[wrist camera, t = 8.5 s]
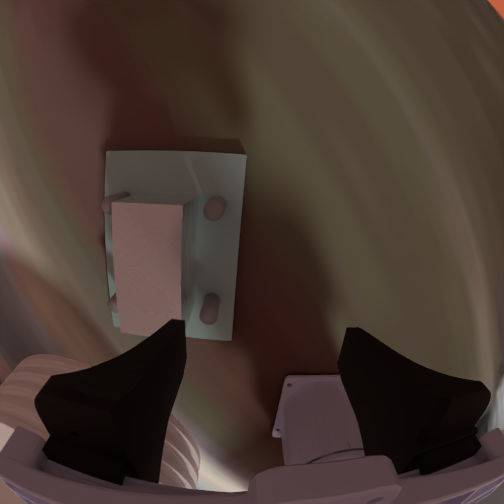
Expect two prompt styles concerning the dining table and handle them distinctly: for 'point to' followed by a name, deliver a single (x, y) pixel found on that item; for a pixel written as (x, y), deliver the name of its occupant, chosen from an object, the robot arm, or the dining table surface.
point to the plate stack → (25, 415)
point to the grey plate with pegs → (208, 223)
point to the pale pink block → (154, 259)
